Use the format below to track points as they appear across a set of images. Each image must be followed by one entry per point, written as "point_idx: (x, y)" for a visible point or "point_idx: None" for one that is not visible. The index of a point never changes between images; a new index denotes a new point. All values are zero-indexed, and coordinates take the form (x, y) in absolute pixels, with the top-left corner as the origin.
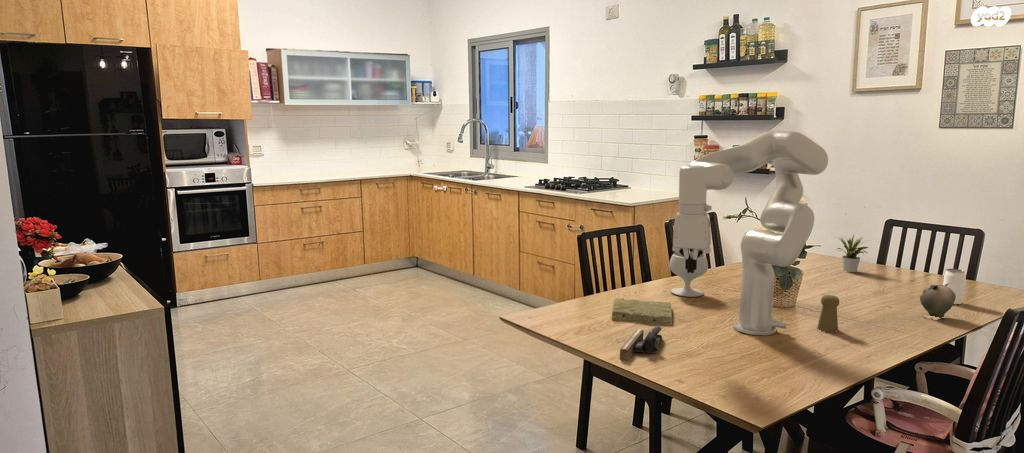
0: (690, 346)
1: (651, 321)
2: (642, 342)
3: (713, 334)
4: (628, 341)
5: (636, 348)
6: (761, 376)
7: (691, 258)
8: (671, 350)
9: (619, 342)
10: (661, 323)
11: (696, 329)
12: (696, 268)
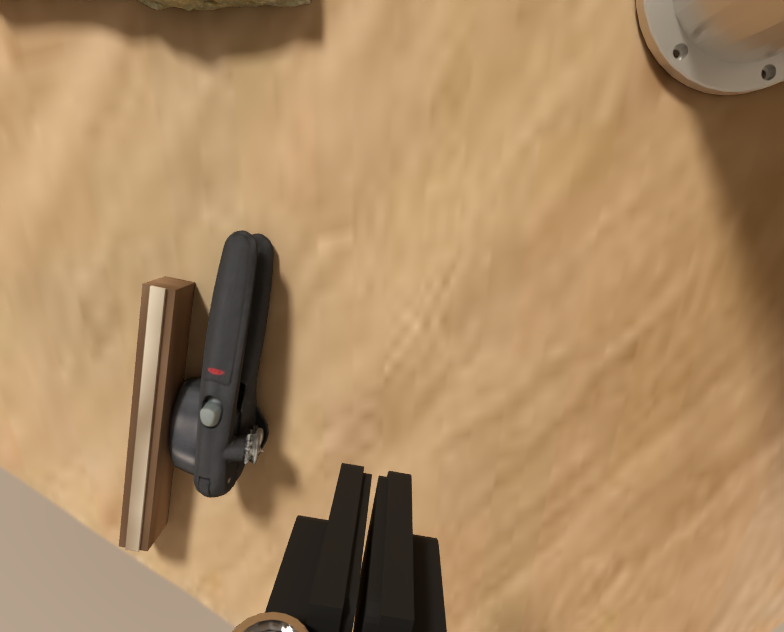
0: (396, 322)
1: (199, 6)
2: (193, 440)
3: (513, 125)
4: (134, 469)
5: (180, 468)
6: (616, 557)
7: (354, 614)
8: (320, 386)
9: (102, 342)
10: (255, 4)
11: (436, 60)
12: (434, 543)
